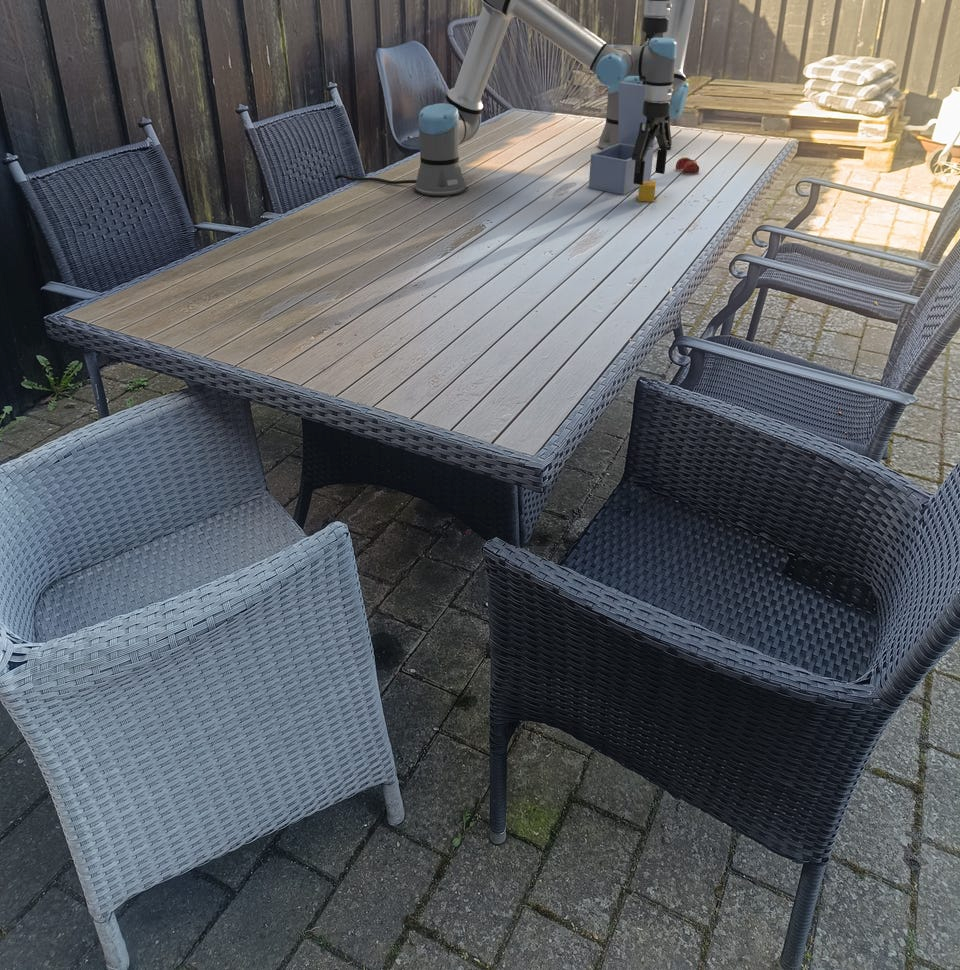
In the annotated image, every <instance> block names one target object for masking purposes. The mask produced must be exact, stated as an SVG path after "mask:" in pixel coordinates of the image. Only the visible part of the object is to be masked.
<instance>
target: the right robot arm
mask: <svg viewBox="0 0 960 970" xmlns="http://www.w3.org/2000/svg"><path fill="white" fill-rule="evenodd" d="M695 3H696V0H644V6H643V15H644V17H643V18H642V27H641V30H642V32H643V33H645V37H644V43H640V44H639V46H648V44H649V41H650V39H652V38H662V37H665V38H672V39H674V40H675V41H676V43H677V46H676V62H675V70H674V78H673V86H672V89H673V92H672V95H671V99H670V100H669V101H670V103H671V105H670V114H669V115H670V120H677V119H679V118H680V117H681V116H682V113H683V112H684V109H685V106H686V104H687V100H688V95H689V90H690V83H688V82H687V76H686V75H685V73H684V72H683V71H684V66H685V60H686V54H687V48H688V44H689V43H688V42H689V39H690V38H689V36H690V32H691V27H692V19H693V14H694V10H695V9H694V7H695ZM641 81H643V84H642V85H645V82H646V77H645V76H627V77H626V78H625V79H624V80H623V81H622V82H626V83H634V84H639V83H640V82H641ZM606 101H607V103H606V115H605V124H604V127H603V129H602V132H601V135H600V137H599V139H598V147H599V149H602V150H603V149H606V148H608V147H611V146H613V145H616V144H618V143H622V142H619V121H618V84H616V85H613V86H608V91H607V100H606ZM622 144H627V145H633V146H635V145H634V144H628V143H622Z"/></svg>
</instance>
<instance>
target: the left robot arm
mask: <svg viewBox="0 0 960 970" xmlns="http://www.w3.org/2000/svg"><path fill="white" fill-rule="evenodd" d="M480 1H481V5H482V8H481V11H480V13H479V16H478V19H477V22H476V24H475V27H474V29H473V30H474V31H473V34H472V35H471V39H470V41H469V44H468V48H467V50H466V53H465V55H464V59H463V62H462V64H461V67H460V69H459V74H458V75H457V79H456V82H455V84H454V87H452V88H450V89H448V90H447V92H446V94H445V98H444V100H443V102H442V103H441V102H440V103H433V104H429V105H427V106H425V107H422V109H420V111H419V113H418V122H417V124H418V136H419V138H418V139H419V157H420V158H419V159H420V161H419V162H420V164H419V168H418V172H417V176H416V179H404V180H403V179H402V180H389V179H384V178H380V177H370V176H369V177H368V176H367V177H365V176H364V177H356V176H355V177H353V176H349V175H346V174H343V173H339V174H337V175H336V176H335V177H334V178H333V180H339V179H340V178H343V179H345V180H348V181H353V182H354V181H355V182H357V181H359V182H363V181H364V182H365V181H367V182H370V181H372V182H380V183H384V184H388V185H402V184H415V192H417V193H418V194H420V195H424V196H430V197H450V196H455V195H459V194H461V193H463V192H464V191H466V181H465V179H464V176H463V172H462V169H461V165H460V145H462V144H464V143H465V142H467V141H469V140H471V139H472V138H473V137H474V136H475V135H476V134H477V132H478V131H479V129H480V127H481V123H482V114H481V113H482V111H483V109H484V104H483V101H482V98H483V94H484V91H485V89H486V86H487V83H488V81H489V79H490V76H491V73H492V70H493V67H494V65H495V63H496V62H495V61H496V60H497V57H498V55H499V53H500V49H501V47H502V44H503V41H504V38H505V35H506V33H507V30H508V28H509V25H510V23H511V20H512V19H514V18H516V19H518V20H519V21H521V22H522V23H524V24H525V25H526V26H528V27H529V28H531V30H533V31H535V32H536V33H538V34H539V35H540V36H541V37H543V38H545V39H546V40H547V41H549V42H550V43H551V44H553V45H554V46H556V47H558V48H559V49H560V50H562V52H564V53H566V54H567V55H568V56H570V57H571V58H572V59H574V60H575V61H577V62H578V63H579V64H581V65H582V66H583V67H585V68H587V69H588V70H590V71H591V72H592V73H594V74H595V76H596V79H597V80H598V81H599V83H601V84H602V85H603V86H606V87H609V86H613V85H616V84H619V83H620V82H622V81H623V80H624V79H625V78H626V77H627V76H645V77H646V82H645V91H644V99H645V101H644V103H643V115H644V116H646V117H647V120H646V123H640V128H639V133H638V137H637V140H636V144H635V147H634V150H633V154H632V160H635V171H634V182H633V183H634V184H639V185H643V179H644V169H645V161H644V158H645V156H646V153H647V151H648V148H650V147H649V146H650V144H651V141H652V140H653V139H654V138H655V140H656V142H657V146H658V148H659V149H657V153H656V160H655V171H654V172H655V174H660V175H664V174H665V173H666V165H667V157H668V151H671V150H672V145H673V142H672V141H673V140H672V134H671V125H670V121H671V119H670V115H669V114H670V105H671V103H670V101H669V100H670V99H671V95H672V92H673V89H672V86H673V78H674V70H675V62H676V46H677V43H676V41H675V40H674V39H672V38H665V37H662V38H652V39H650V41H649V44H648V46H640V45H632V44H630V45H629V44H621V43H616V44H608V43H607V42H606V41H605V40H603V39H602V38H600V37H599V36H598V35H596V33H594V32H592V31H591V30H589V28H587V27H585V25H583V24H581V23H579V22H578V21H577V20H575V19H574V18H572V17H571V16H570V15H568V14H567V13H565V12H564V11H563V10H561V9H560V8H558V7H557V6H556V5H555V4H553V3H552V2H550V1H549V0H480ZM643 131H644V132H643Z"/></svg>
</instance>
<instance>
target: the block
mask: <svg viewBox="0 0 960 970" xmlns="http://www.w3.org/2000/svg"><path fill="white" fill-rule="evenodd" d="M656 186H657V181H654V180H650V181H643V185H639V187H638V195H637V202H649V203H654V201H655V195H656V188H657V187H656Z"/></svg>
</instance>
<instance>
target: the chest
mask: <svg viewBox="0 0 960 970" xmlns="http://www.w3.org/2000/svg"><path fill="white" fill-rule="evenodd" d="M634 147H635V146H633V145H627V144H622V143H618V144H616V145H613V146H611V147H608V148H606V149H602V150H598V151H596V152H594V153H591V154H590V163H589V176H588V177H589V178H588V188H589V189H594V190H598V191H604V192H609V193H614V194H619V195H627V194H628V193H630V192H632V191H634V190H636V189H639V184H634V183H633V182H634V171H635V160H632V154H633V150H634ZM654 151H655V149H654V148H651V147H649V148H648V151H647V153H646V156H645V158H644V161H645V169H644V179H643V181H651V177H652V170H653V169H652V167H653V159H654Z"/></svg>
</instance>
